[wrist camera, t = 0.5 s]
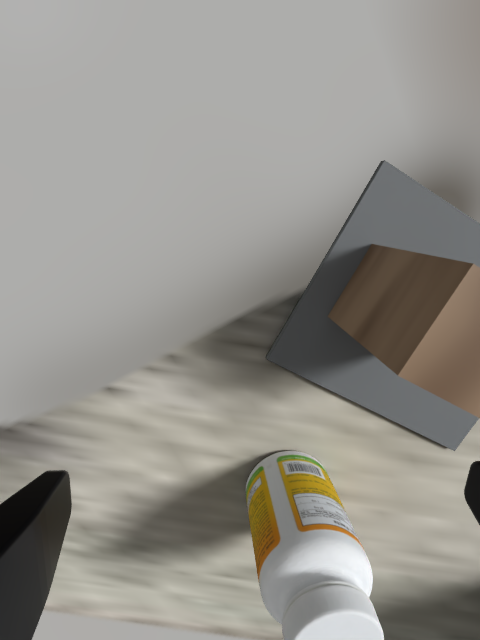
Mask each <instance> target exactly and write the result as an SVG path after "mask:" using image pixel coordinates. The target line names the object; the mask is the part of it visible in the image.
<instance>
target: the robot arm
mask: <svg viewBox="0 0 480 640" xmlns="http://www.w3.org/2000/svg"><path fill="white" fill-rule="evenodd" d="M464 495H465V499H466V502H467V504H468V506H469V507H470V509H471V511H472V513H473V514H474V516H475V518H476V520H477V521H478V523H479V525H480V461H476V462H473V463H472V465H471V467H470V470H469V474H468V478H467V482H466V485H465V490H464ZM71 505H72V503H71V490H70V478H69V474H68V472H67V471H65V470H59V471H46V472H44V473H43V474H41V475H40V476H39V477H37V478H36V479H34V480H33V481H32V482H30V483H29V484H28V485H26V486H25V487H23V488H22V489H21V490H19V491H18V492H17V493H15V494H14V495H12V496H11V497H10V498H8V499H7V500H6V501H4V502H3V503H1V504H0V640H32V637H33V634H34V632H35V629H36V627H37V624H38V622H39V619H40V616H41V614H42V611H43V609H44V606H45V603H46V600H47V597H48V594H49V591H50V588H51V584H52V581H53V577H54V573H55V570H56V566H57V562H58V559H59V555H60V551H61V548H62V544H63V540H64V537H65V533H66V529H67V526H68V522H69V518H70V514H71Z"/></svg>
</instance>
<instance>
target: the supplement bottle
mask: <svg viewBox="0 0 480 640" xmlns="http://www.w3.org/2000/svg"><path fill="white" fill-rule="evenodd" d="M246 502H247V509H248V515H249V522H250V528H251V534H252V541H253V547H254V554H255V560H256V567H257V574H258V580H259V586H260V591H261V596H262V599H263V602H264V604H265V607H266V608H267V610H268V612H269V613H270V614H271V616H272V617H273V618H274V619H275V620H276V621H278V622H279V623H280V624H282V631H283V637H284V640H384V635H383V630H382V627H381V625H380V622H379V620H378V617H377V615H376V612H375V609H374V606H373V604H372V602H371V600H370V599H369V596H370V594H371V590H372V583H373V576H372V569H371V566H370V563H369V560H368V558H367V555H366V553H365V550H364V548H363V547H362V544H361V542H360V541H359V539H358V537H357V535H356V533H355V530H354V528H353V526H352V524H351V522H350V520H349V518H348V516H347V514H346V511H345V510H344V507H343V505H342V503H341V501H340V499H339V497H338V495H337V493H336V491H335V489H334V487H333V484H332V482H331V480H330V478H329V476H328V474H327V472H326V470H325V469H324V467H323V466H322V464H321V463H320V462H319V461H318V460H316V459H315V458H314V457H312V456H310V455H308V454H306V453H303V452H298V451H283V452H278V453H275V454H272V455H270V456H268V457H267V458H265V459H264V460H262V461H261V462H260V463H259V464H257V466H256V467H255V468H254V469H253V470H252V472H251V474H250V475H249V478H248V480H247V483H246Z"/></svg>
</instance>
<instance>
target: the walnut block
mask: <svg viewBox="0 0 480 640" xmlns="http://www.w3.org/2000/svg"><path fill="white" fill-rule="evenodd" d="M328 317H329V318H330V319H331V320H332V321H334V322H335V323H336V324H337V325H338V326H340V327H341V328H342V329H343V330H344V331H345V332H347V333H348V334H349V335H350V336H351V337H353V338H354V339H355V340H356V341H357V342H359V343H360V344H361V345H362V346H363V347H364V348H366V349H367V350H368V351H369V352H370V353H372V354H373V355H374V356H375V357H376V358H378V359H379V360H380V361H381V362H382V363H383V364H385V365H386V366H387V367H388V368H389V369H391V370H392V371H393V372H394V373H395V374H397V375H398V376H400V377H402V378H403V379H405V380H407V381H409V382H411V383H413V384H415V385H417V386H419V387H421V388H423V389H425V390H426V391H428V392H430V393H432V394H434V395H436V396H438V397H440V398H442V399H444V400H446V401H448V402H450V403H451V404H453V405H455V406H457V407H459V408H461V409H463V410H465V411H467V412H469V413H471V414H473V415H474V416H476V417H478V418H480V267H478V266H476V265H475V264H473V263H468V262H463V261H457V260H452V259H447V258H442V257H437V256H432V255H427V254H422V253H416V252H411V251H406V250H401V249H396V248H391V247H386V246H381V245H375V244H371V246H370V248H369V249H368V251H367V253H366V254H365V256H364V258H363V259H362V261H361V262H360V264H359V266H358V267H357V269H356V271H355V272H354V274H353V276H352V277H351V279H350V280H349V282H348V284H347V285H346V287H345V289H344V290H343V292H342V294H341V295H340V297H339V298H338V300H337V302H336V303H335V305H334V307H333V308H332V310H331V312H330V313H329V315H328Z"/></svg>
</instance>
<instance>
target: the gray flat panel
mask: <svg viewBox="0 0 480 640" xmlns="http://www.w3.org/2000/svg"><path fill="white" fill-rule="evenodd" d="M371 244H375V245H381V246H386V247H391V248H396V249H401V250H406V251H411V252H416V253H422V254H427V255H432V256H437V257H442V258H447V259H452V260H457V261H463V262H468V263H473V264H475V265H476V266H478V267H480V223H478V222H477V221H475V220H474V219H472V218H471V217H469V216H468V215H466V214H465V213H463V212H462V211H460V210H459V209H457V208H456V207H454V206H453V205H451V204H450V203H448V202H446V201H445V200H444V199H442V198H440V197H439V196H438V195H436V194H434V193H433V192H431V191H430V190H428V189H427V188H425V187H424V186H422V185H421V184H419V183H418V182H416V181H415V180H413V179H412V178H410V177H409V176H407V175H406V174H404V173H403V172H401V171H400V170H398V169H397V168H395V167H394V166H392V165H391V164H389V163H388V162H386V161H385V160H384V161H381V163H380V164H379V166H378V167H377V169H376V171H375V173H374V174H373V176H372V178H371V180H370V181H369V183H368V184H367V186H366V188H365V190H364V191H363V193H362V195H361V197H360V198H359V200H358V201H357V203H356V205H355V207H354V208H353V210H352V212H351V213H350V215H349V217H348V218H347V220H346V222H345V224H344V225H343V227H342V229H341V231H340V232H339V234H338V236H337V237H336V239H335V241H334V242H333V244H332V246H331V248H330V249H329V251H328V253H327V254H326V256H325V258H324V259H323V261H322V263H321V265H320V266H319V268H318V269H317V271H316V273H315V275H314V276H313V278H312V280H311V281H310V283H309V285H308V286H307V288H306V290H305V292H304V293H303V295H302V297H301V298H300V300H299V302H298V304H297V305H296V307H295V309H294V310H293V312H292V314H291V315H290V317H289V319H288V321H287V322H286V324H285V326H284V327H283V329H282V331H281V332H280V334H279V336H278V338H277V339H276V341H275V343H274V344H273V346H272V348H271V349H270V351H269V353H268V355H267V356H266V358H267V360H269V361H271V362H273V363H275V364H277V365H279V366H281V367H283V368H285V369H287V370H289V371H291V372H294V373H296V374H298V375H300V376H302V377H304V378H306V379H308V380H310V381H312V382H314V383H316V384H318V385H320V386H322V387H324V388H326V389H328V390H330V391H332V392H335V393H337V394H339V395H341V396H343V397H345V398H347V399H349V400H351V401H353V402H355V403H357V404H359V405H361V406H363V407H365V408H367V409H369V410H371V411H374V412H376V413H378V414H380V415H382V416H384V417H386V418H388V419H390V420H392V421H394V422H396V423H398V424H400V425H402V426H404V427H406V428H408V429H410V430H412V431H415V432H417V433H419V434H421V435H423V436H425V437H427V438H429V439H431V440H433V441H435V442H437V443H439V444H441V445H443V446H445V447H447V448H449V449H451V450H454V451H455V450H456V448H457V447H458V446H459V444H460V443H461V442H462V440H463V439H464V438H465V436H466V435H467V434H468V432H469V431H470V430H471V428H472V427H473V426H474V424H475V423H476V422H477V420H478V419H479V418H478V417H476V416H474V415H473V414H471V413H469V412H467V411H465V410H463V409H461V408H459V407H457V406H455V405H453V404H451V403H450V402H448V401H446V400H444V399H442V398H440V397H438V396H436V395H434V394H432V393H430V392H428V391H426V390H425V389H423V388H421V387H419V386H417V385H415V384H413V383H411V382H409V381H407V380H405V379H403V378H402V377H400V376H398V375H397V374H395V373H394V372H393V371H392V370H391V369H389V368H388V367H387V366H386V365H385V364H383V363H382V362H381V361H380V360H379V359H378V358H376V357H375V356H374V355H373V354H372V353H370V352H369V351H368V350H367V349H366V348H364V347H363V346H362V345H361V344H360V343H359V342H357V341H356V340H355V339H354V338H353V337H351V336H350V335H349V334H348V333H347V332H345V331H344V330H343V329H342V328H341V327H340V326H338V325H337V324H336V323H335V322H334V321H332V320H331V319H330V318H329V317H328V315H329V313H330V312H331V310H332V308H333V307H334V305H335V303H336V302H337V300H338V298H339V297H340V295H341V294H342V292H343V290H344V289H345V287H346V285H347V284H348V282H349V280H350V279H351V277H352V276H353V274H354V272H355V271H356V269H357V267H358V266H359V264H360V262H361V261H362V259H363V258H364V256H365V254H366V253H367V251H368V249H369V248H370V246H371Z"/></svg>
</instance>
